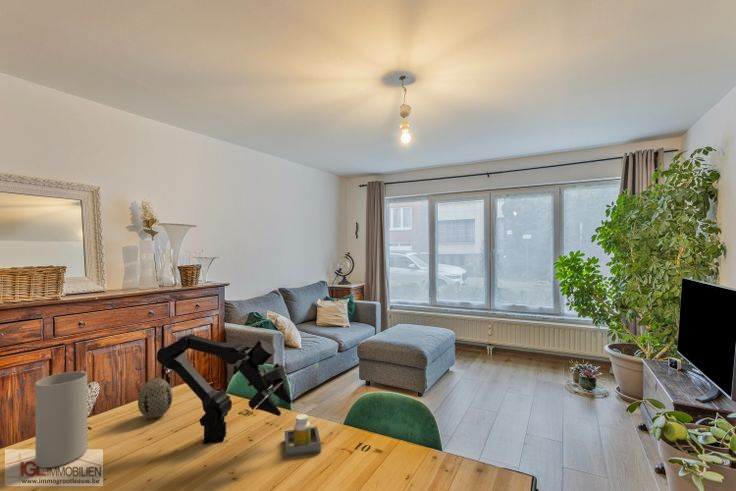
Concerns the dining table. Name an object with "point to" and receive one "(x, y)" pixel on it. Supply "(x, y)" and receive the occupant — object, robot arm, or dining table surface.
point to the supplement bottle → (301, 430)
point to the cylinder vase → (61, 418)
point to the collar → (302, 448)
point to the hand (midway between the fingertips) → (285, 408)
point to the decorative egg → (155, 398)
